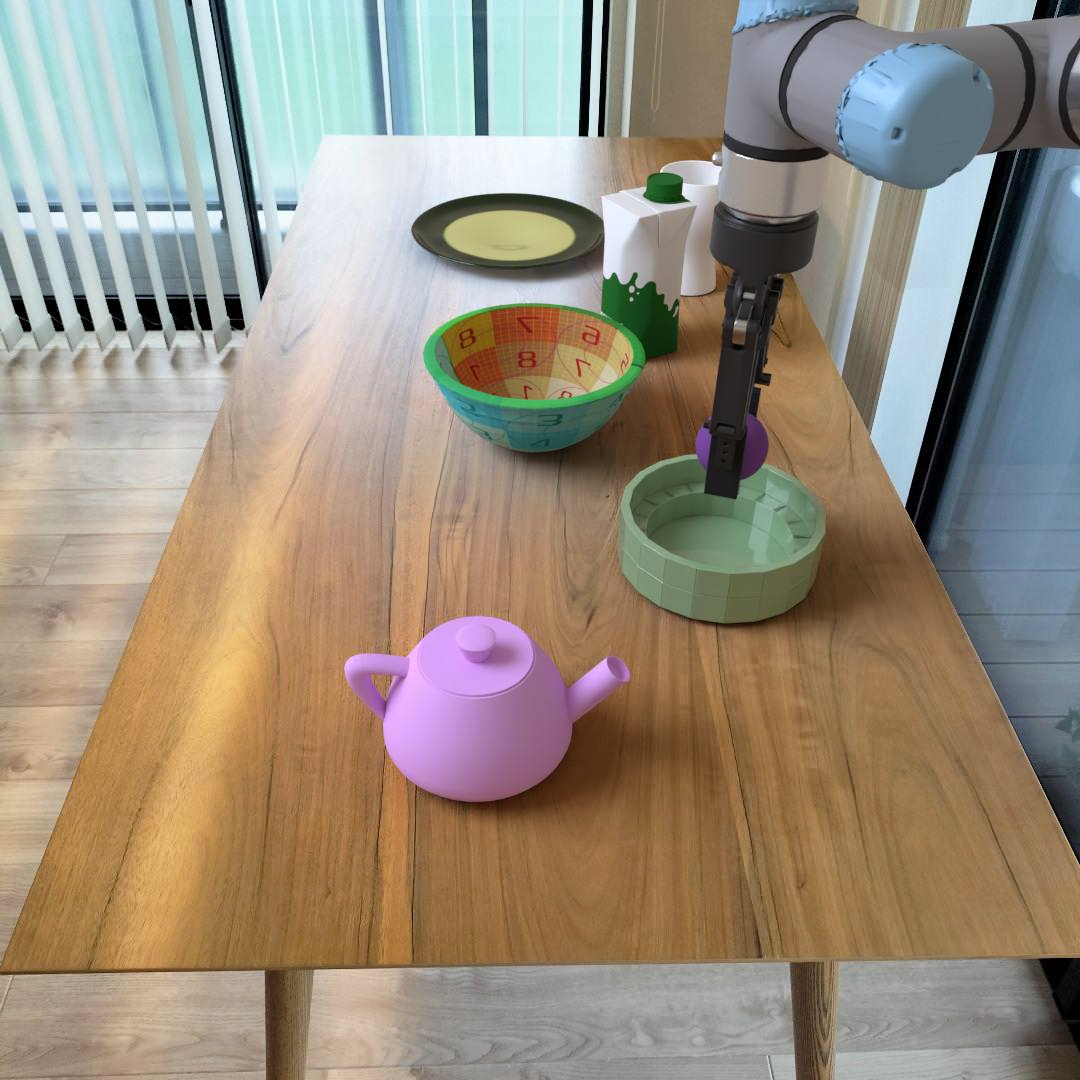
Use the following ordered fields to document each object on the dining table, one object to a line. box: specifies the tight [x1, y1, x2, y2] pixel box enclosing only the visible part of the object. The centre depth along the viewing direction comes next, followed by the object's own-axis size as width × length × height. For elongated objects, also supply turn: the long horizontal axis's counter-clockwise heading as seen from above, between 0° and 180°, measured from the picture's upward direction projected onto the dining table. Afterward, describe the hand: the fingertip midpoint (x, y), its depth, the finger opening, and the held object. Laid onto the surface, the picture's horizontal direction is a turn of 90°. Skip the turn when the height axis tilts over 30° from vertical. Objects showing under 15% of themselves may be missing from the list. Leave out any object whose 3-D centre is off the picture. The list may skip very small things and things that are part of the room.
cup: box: [659, 160, 722, 297], centre depth 141 cm, size 11×11×15 cm
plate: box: [410, 192, 605, 271], centre depth 155 cm, size 28×28×2 cm
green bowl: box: [616, 453, 827, 624], centre depth 96 cm, size 18×18×6 cm
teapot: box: [343, 615, 631, 803], centre depth 77 cm, size 14×20×11 cm
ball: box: [695, 413, 770, 480], centre depth 90 cm, size 6×6×6 cm
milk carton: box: [599, 172, 697, 360], centre depth 125 cm, size 9×9×20 cm
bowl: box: [422, 302, 646, 454], centre depth 111 cm, size 22×22×10 cm
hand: (727, 472), depth 92 cm, fingers closed on ball, 6 cm apart
